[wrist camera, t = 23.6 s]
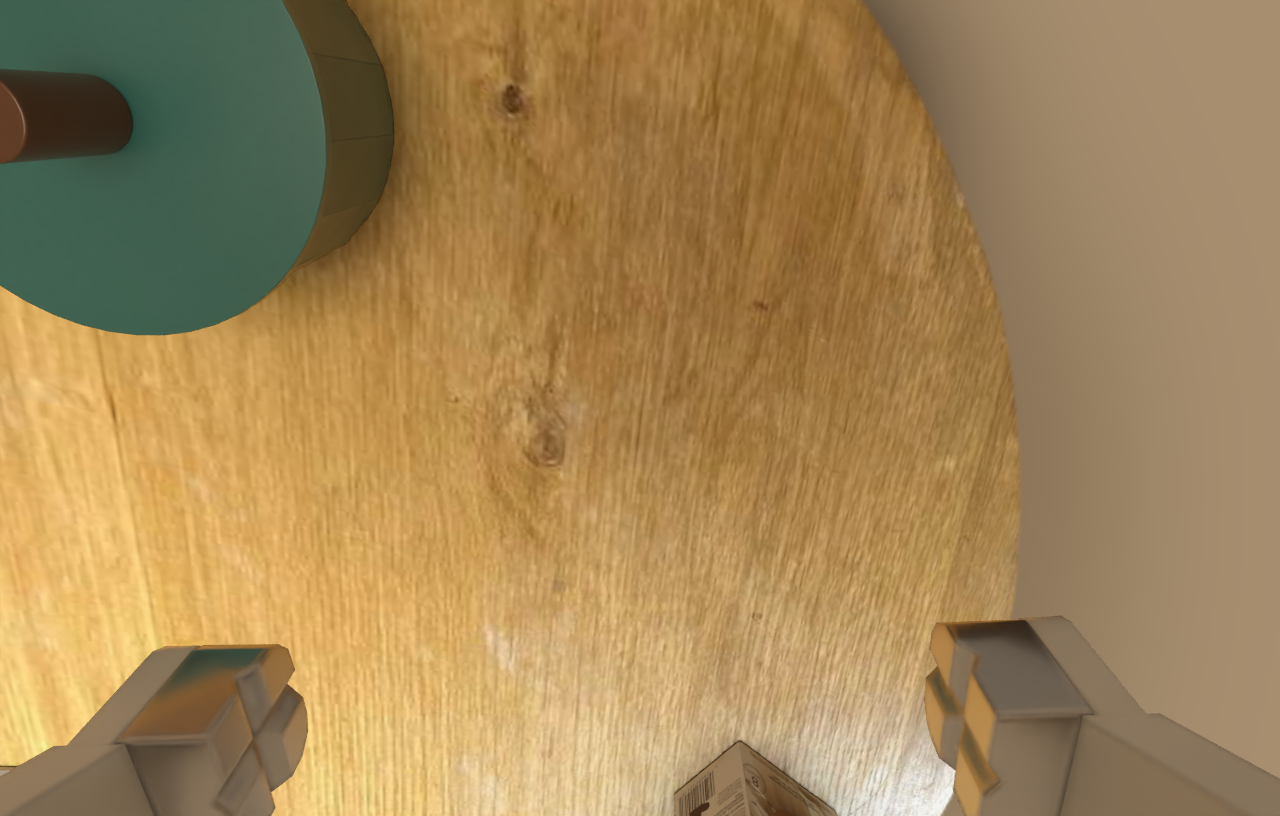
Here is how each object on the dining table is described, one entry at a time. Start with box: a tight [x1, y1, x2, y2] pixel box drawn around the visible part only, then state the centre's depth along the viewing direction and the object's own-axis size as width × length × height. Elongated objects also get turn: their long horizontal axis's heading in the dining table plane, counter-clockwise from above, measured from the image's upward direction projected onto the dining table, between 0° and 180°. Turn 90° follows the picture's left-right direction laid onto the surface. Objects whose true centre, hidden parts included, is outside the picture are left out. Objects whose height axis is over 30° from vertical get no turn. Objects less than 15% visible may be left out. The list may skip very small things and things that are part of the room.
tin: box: [287, 0, 394, 272], centre depth 28 cm, size 14×14×8 cm
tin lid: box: [0, 0, 332, 335], centre depth 22 cm, size 15×15×6 cm
